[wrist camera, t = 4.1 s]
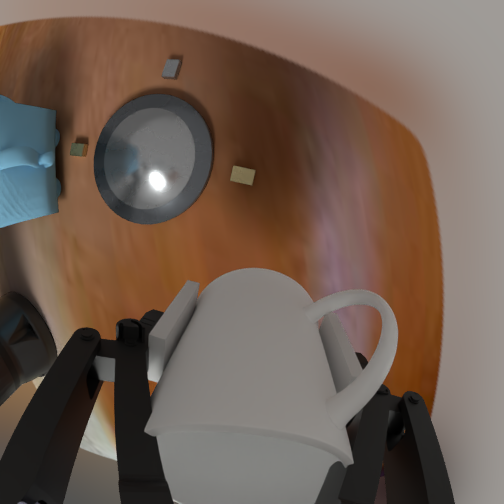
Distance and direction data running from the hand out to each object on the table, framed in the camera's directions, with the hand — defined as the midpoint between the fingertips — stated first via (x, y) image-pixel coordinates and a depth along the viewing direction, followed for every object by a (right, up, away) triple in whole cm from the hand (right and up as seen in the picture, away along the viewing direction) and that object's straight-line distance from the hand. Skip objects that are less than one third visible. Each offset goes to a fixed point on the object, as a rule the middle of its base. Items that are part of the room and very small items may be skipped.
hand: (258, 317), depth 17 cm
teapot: (-28, +18, +8) cm, 34 cm away
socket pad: (-10, +15, +7) cm, 19 cm away
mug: (+1, 0, +1) cm, 1 cm away
